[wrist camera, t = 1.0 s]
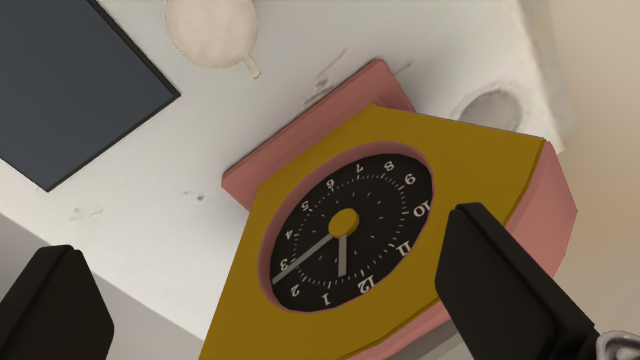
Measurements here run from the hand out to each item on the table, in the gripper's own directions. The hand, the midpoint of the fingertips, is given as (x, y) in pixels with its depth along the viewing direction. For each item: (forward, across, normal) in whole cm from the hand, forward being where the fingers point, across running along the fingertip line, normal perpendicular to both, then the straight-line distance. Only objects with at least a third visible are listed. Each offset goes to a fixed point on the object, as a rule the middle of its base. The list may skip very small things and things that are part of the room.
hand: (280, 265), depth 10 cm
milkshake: (+22, +2, -4) cm, 22 cm away
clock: (+22, -5, +8) cm, 24 cm away
